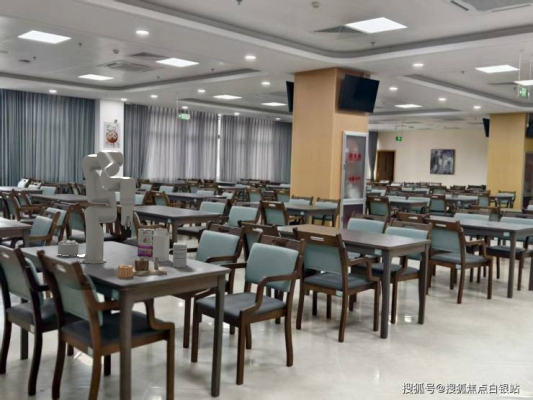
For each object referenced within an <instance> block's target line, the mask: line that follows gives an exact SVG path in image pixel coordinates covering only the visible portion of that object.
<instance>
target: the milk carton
mask: <svg viewBox="0 0 533 400" xmlns="http://www.w3.org/2000/svg"><path fill="white" fill-rule="evenodd" d="M155 230H156V231H155V233H154V235H153V257H152V262H154V257H159V262H161V263H164V262H168V261H169V260H170V233H169V231H168V228H164V227H163V228H162V227H155Z"/></svg>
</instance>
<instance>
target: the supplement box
mask: <svg viewBox="0 0 533 400" xmlns="http://www.w3.org/2000/svg"><path fill="white" fill-rule="evenodd" d="M187 247H188V243H187V242H174V243H173V247H172V268H186V267H187V263H188V262H187V257H188V248H187Z"/></svg>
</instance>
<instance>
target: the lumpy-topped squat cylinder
mask: <svg viewBox="0 0 533 400" xmlns="http://www.w3.org/2000/svg"><path fill="white" fill-rule="evenodd" d="M58 254H61V255H79V243H78V242H77V241H76V240H75V239H73V240H70V239H67V240H64V239H63V240H60V241H59V242H58V243H57V255H58Z"/></svg>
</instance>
